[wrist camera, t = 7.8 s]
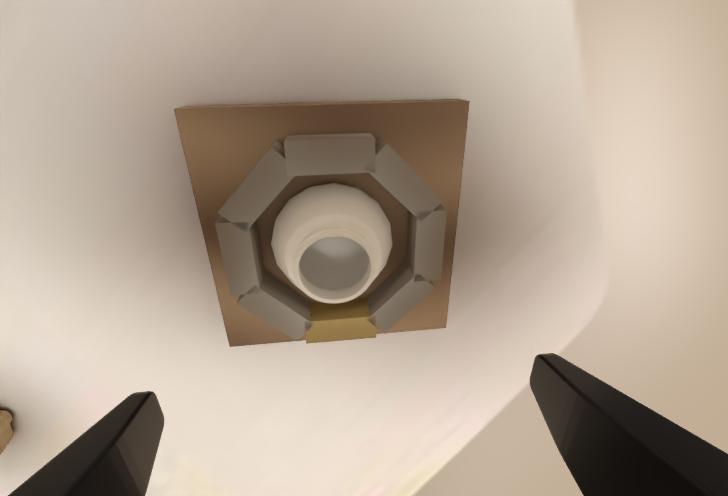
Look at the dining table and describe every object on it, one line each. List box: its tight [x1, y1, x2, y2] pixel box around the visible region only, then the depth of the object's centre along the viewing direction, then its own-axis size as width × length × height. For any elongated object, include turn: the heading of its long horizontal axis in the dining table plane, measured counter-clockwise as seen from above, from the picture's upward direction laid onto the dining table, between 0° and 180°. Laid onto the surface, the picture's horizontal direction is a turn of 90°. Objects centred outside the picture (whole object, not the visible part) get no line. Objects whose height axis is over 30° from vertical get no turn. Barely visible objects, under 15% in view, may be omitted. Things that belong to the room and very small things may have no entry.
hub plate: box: [174, 99, 469, 347], centre depth 16 cm, size 11×11×3 cm
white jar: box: [271, 183, 392, 303], centre depth 14 cm, size 5×3×5 cm
